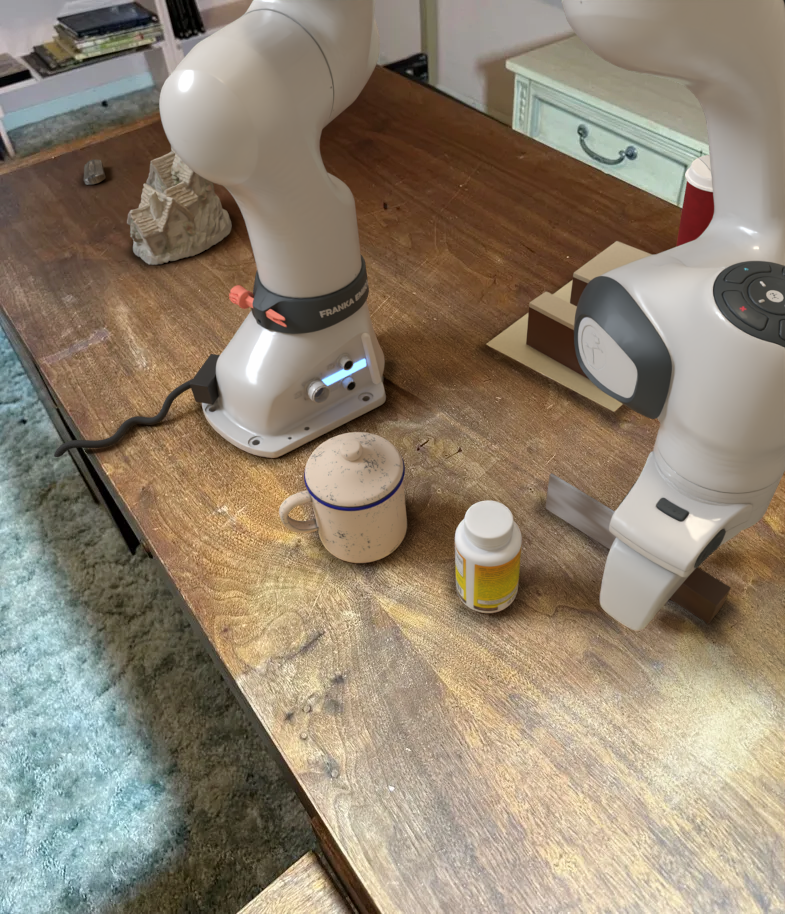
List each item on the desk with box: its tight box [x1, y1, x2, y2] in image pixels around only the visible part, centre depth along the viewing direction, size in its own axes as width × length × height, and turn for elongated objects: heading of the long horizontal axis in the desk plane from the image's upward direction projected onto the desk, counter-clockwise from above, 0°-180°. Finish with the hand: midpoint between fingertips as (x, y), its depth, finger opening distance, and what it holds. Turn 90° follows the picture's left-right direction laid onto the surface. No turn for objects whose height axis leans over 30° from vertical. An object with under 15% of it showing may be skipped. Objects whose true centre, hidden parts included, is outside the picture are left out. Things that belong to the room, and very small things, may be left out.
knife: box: [545, 472, 732, 625], centre depth 69 cm, size 18×2×5 cm, turn 45°
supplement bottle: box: [454, 499, 523, 614], centre depth 65 cm, size 6×6×10 cm
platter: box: [485, 279, 624, 413], centre depth 92 cm, size 23×18×1 cm
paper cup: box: [675, 154, 714, 247], centre depth 96 cm, size 8×8×14 cm
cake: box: [570, 240, 653, 306], centre depth 91 cm, size 9×12×6 cm
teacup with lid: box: [278, 431, 408, 564], centre depth 70 cm, size 12×9×12 cm
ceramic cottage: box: [126, 145, 232, 266], centre depth 111 cm, size 16×16×15 cm
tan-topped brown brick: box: [526, 291, 590, 380], centre depth 86 cm, size 3×12×6 cm, turn 42°
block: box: [83, 159, 107, 186], centre depth 130 cm, size 4×6×2 cm, turn 19°
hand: (673, 579), depth 67 cm, fingers open, 7 cm apart
